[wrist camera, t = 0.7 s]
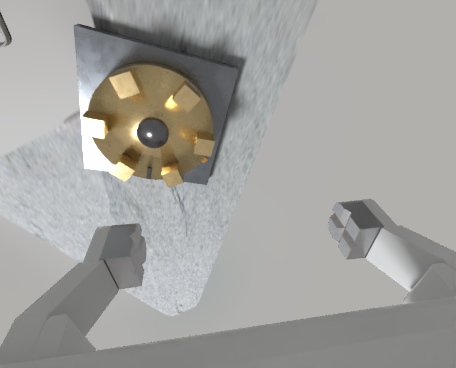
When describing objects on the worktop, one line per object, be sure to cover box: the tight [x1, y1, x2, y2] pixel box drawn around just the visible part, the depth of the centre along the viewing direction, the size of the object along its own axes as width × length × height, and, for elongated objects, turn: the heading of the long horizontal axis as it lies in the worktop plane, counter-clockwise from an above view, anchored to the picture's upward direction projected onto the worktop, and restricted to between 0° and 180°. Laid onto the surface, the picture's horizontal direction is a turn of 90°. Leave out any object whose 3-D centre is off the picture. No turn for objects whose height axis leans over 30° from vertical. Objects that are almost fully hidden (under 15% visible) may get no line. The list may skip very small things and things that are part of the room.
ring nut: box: [81, 62, 215, 187], centre depth 42 cm, size 20×20×6 cm
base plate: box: [74, 24, 239, 185], centre depth 45 cm, size 24×24×2 cm
